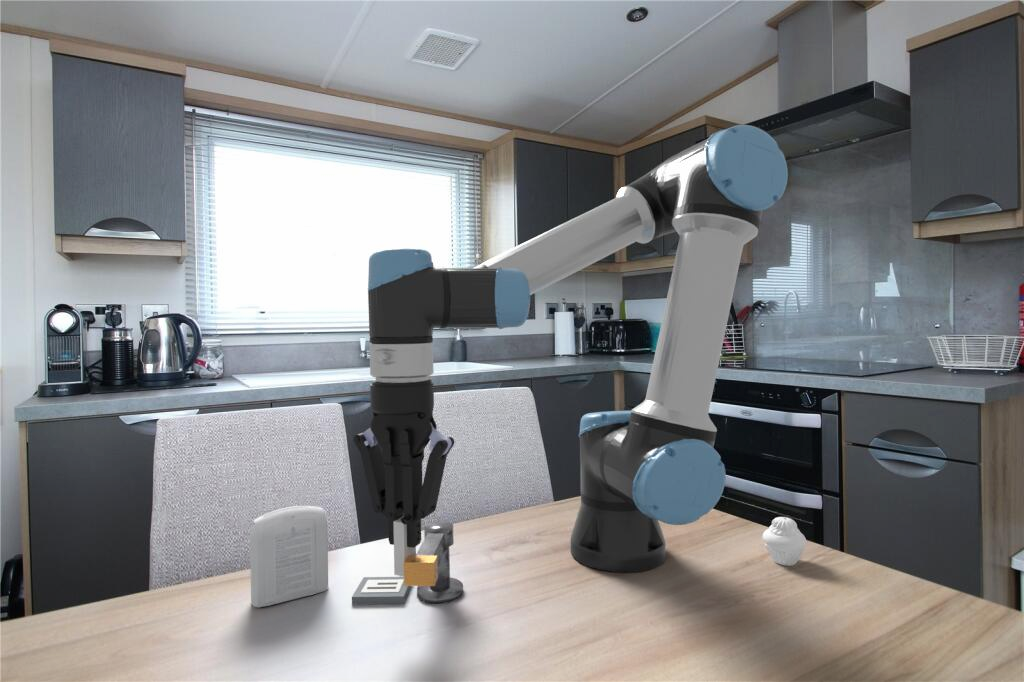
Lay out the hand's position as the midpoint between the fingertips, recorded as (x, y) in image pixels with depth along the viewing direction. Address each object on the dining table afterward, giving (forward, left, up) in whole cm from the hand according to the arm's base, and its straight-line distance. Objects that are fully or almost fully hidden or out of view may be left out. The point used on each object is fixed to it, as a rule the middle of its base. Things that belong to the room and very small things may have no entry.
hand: (405, 570), depth 70 cm
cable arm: (-2, -5, -1) cm, 5 cm away
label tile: (+5, -10, -8) cm, 13 cm away
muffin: (-55, -19, -8) cm, 58 cm away
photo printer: (+18, -10, -8) cm, 22 cm away
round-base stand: (-3, -10, -8) cm, 13 cm away
